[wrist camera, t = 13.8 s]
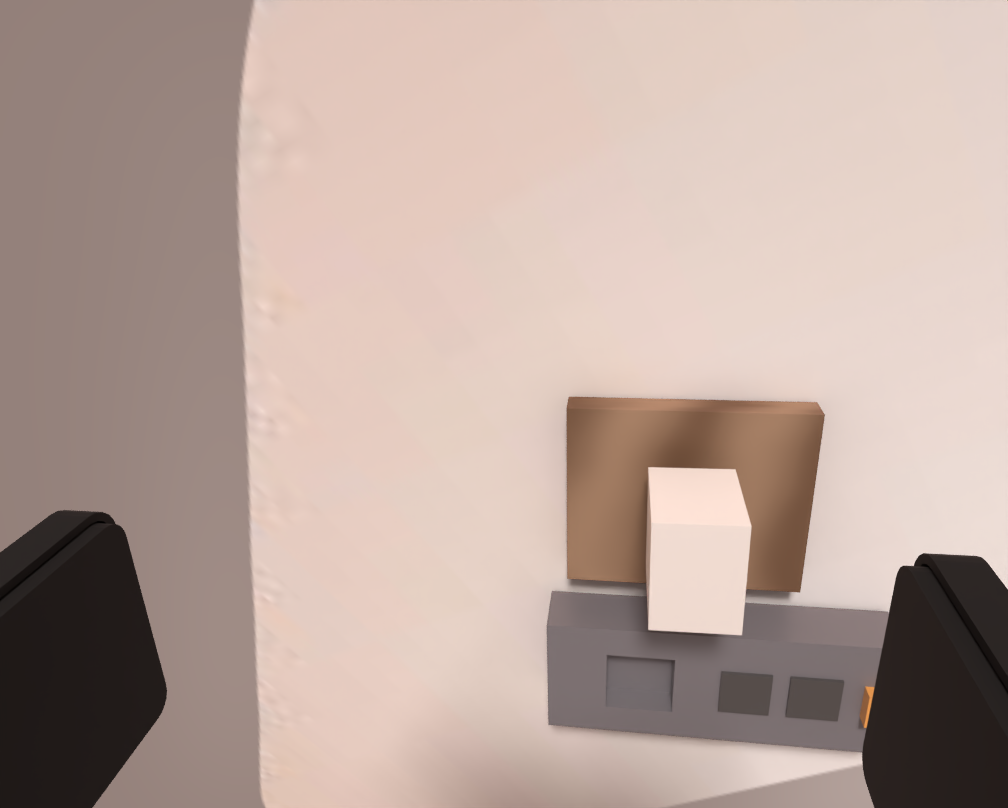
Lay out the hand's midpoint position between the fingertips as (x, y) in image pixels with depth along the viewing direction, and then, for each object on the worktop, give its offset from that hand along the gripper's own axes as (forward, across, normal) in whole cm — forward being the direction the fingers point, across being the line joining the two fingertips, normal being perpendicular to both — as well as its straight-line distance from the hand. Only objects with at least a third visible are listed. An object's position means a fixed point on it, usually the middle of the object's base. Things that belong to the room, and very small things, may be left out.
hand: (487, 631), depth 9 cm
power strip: (+28, -7, +24) cm, 38 cm away
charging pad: (+28, -5, +14) cm, 32 cm away
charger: (+27, -5, +14) cm, 30 cm away
